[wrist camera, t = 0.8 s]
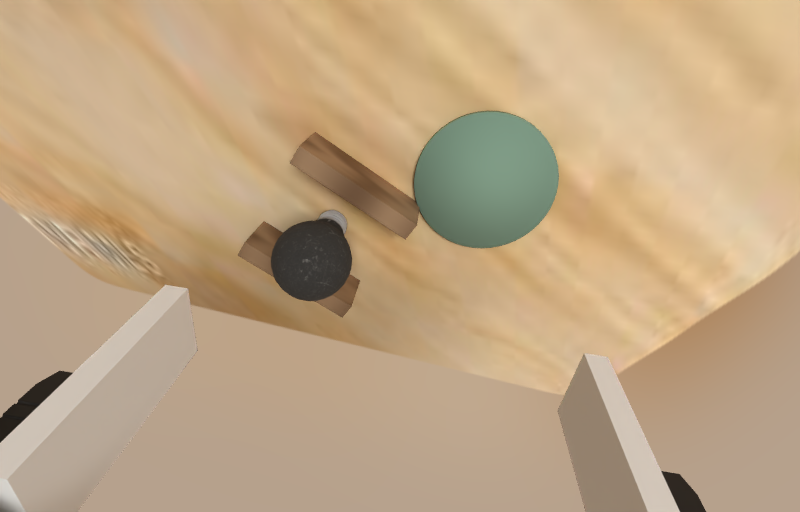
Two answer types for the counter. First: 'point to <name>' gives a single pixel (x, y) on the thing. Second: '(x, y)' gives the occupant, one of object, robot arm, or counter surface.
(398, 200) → the pair of wooden planks
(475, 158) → the pad
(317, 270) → the light bulb
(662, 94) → the counter surface
